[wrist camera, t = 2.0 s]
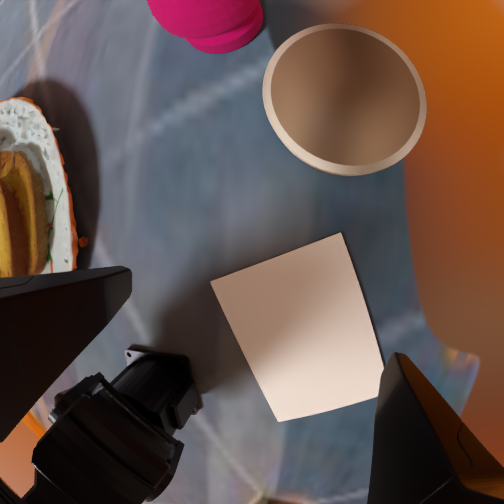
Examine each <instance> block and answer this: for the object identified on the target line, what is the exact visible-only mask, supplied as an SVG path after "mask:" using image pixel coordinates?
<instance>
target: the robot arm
mask: <svg viewBox="0 0 504 504" xmlns="http://www.w3.org/2000/svg"><path fill="white" fill-rule="evenodd" d="M131 292H132V272H131V270H130V269H129V268H126V267H124V266H113V267H104V268H94V269H85V270H75V271H66V272H56V273H47V274H37V275H27V276H16V277H1V278H0V443H2V442H3V441H4V440H5V439H6V437H7V436H8V435H9V434H10V433H11V431H12V430H13V429H14V428H15V427H16V425H17V424H18V423H19V422H20V420H21V419H22V418H23V417H24V416H25V415H26V414H27V412H28V411H29V410H30V409H31V408H32V407H33V405H34V404H35V402H37V401H38V399H39V398H40V397H41V396H42V395H43V394H44V393H45V391H46V390H47V389H48V388H49V387H50V386H51V385H52V384H53V383H54V381H55V380H56V379H57V378H58V377H59V376H60V375H61V374H62V373H63V371H64V370H65V369H66V368H67V367H68V366H69V365H70V364H71V363H72V362H73V361H74V359H75V358H76V357H77V356H78V355H79V354H80V353H81V352H82V351H83V350H84V349H85V348H86V347H87V346H88V345H89V343H90V342H91V341H92V340H93V339H94V338H95V337H96V336H97V335H98V334H99V333H100V332H101V331H102V330H103V329H104V328H105V327H106V326H107V324H108V323H109V322H110V321H111V320H112V318H113V317H114V316H115V314H116V313H117V312H118V311H119V309H120V308H121V307H122V306H123V304H124V303H125V302H126V301H127V299H128V298H129V297H130V295H131ZM129 353H130V354H131V355H130V354H129ZM125 357H126V361H127V365H128V366H127V367H126V368H125V369H124V370H123V371H122V372H121V373H120V374H119V375H118V376H117V377H116V378H115V379H114V380H113V381H112V382H111V383H109V382H108V381H107V380H106V379H105V378H104V376H103V375H102V374H101V373H100V372H99V373H97V374H96V375H94V376H93V375H91V376H90V377H85V378H84V379H83V380H82V381H81V382H79V383H78V384H77V385H76V386H74V387H72V388H70V389H67V390H65V391H63V392H60V393H58V394H57V395H56V396H55V398H54V403H55V406H54V408H53V409H52V412H51V414H50V415H49V418H48V419H49V420H50V421H51V422H52V423H53V425H52V426H51V427H50V429H49V430H48V431H47V432H46V433H45V434H44V435H43V437H42V438H41V439H40V440H39V441H38V443H37V446H36V447H35V448H34V450H33V455H32V464H33V466H34V467H35V479H34V480H35V481H34V485H33V486H32V488H31V489H30V490H29V491H28V492H27V493H26V494H25V495H24V496H23V497H22V498H20V497H19V496H18V495H17V494H16V493H15V492H14V491H13V490H12V489H11V488H10V487H9V486H8V485H7V484H6V482H5V481H4V480H3V479H2V478H1V477H0V504H142V503H143V502H144V501H147V502H150V501H152V500H154V499H155V498H157V497H158V496H159V495H160V494H161V493H162V492H163V491H164V490H165V489H166V487H167V486H168V485H169V483H170V482H171V480H172V478H173V477H174V474H175V472H176V469H177V466H178V463H179V460H180V457H181V454H182V451H183V448H184V444H183V443H182V442H181V441H179V440H176V439H175V438H174V437H172V436H173V434H174V433H175V431H176V429H179V430H181V429H182V428H183V427H184V425H185V424H186V422H187V420H188V418H189V417H190V415H195V414H197V412H198V405H197V403H198V396H197V391H196V386H195V381H194V379H193V378H192V374H191V368H190V362H189V359H188V358H187V357H186V356H182V355H174V354H166V353H159V352H152V351H145V350H139V349H132V348H128V349H127V350H126V351H125ZM181 360H182V361H184V362H185V363H183V362H182V361H181ZM367 504H504V467H503V466H502V465H501V464H500V463H499V462H498V461H497V460H496V459H495V458H494V456H493V455H492V454H491V453H490V452H489V451H488V450H487V449H486V448H485V447H484V446H483V445H482V443H481V442H480V441H479V440H478V439H477V438H476V437H475V436H474V435H473V433H472V432H471V431H470V430H469V428H468V427H467V426H466V425H465V423H464V422H462V420H461V418H460V417H459V416H458V415H457V414H456V412H455V411H454V410H453V409H452V408H451V406H450V405H449V404H448V403H447V402H446V400H445V399H444V398H443V397H442V396H441V394H440V393H439V392H438V391H437V390H436V389H435V387H434V386H433V385H432V384H431V383H430V382H429V380H428V379H427V378H426V377H425V376H424V375H423V374H422V372H421V371H420V370H419V369H418V368H417V367H416V365H415V364H414V363H413V362H412V361H411V360H410V359H409V358H408V356H407V355H405V354H402V353H398V352H394V353H393V354H392V355H391V357H390V359H389V360H388V362H387V364H386V366H385V368H384V370H383V372H382V374H381V378H380V385H379V393H378V400H377V406H376V413H375V422H374V439H373V454H372V465H371V476H370V485H369V493H368V501H367Z"/></svg>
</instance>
